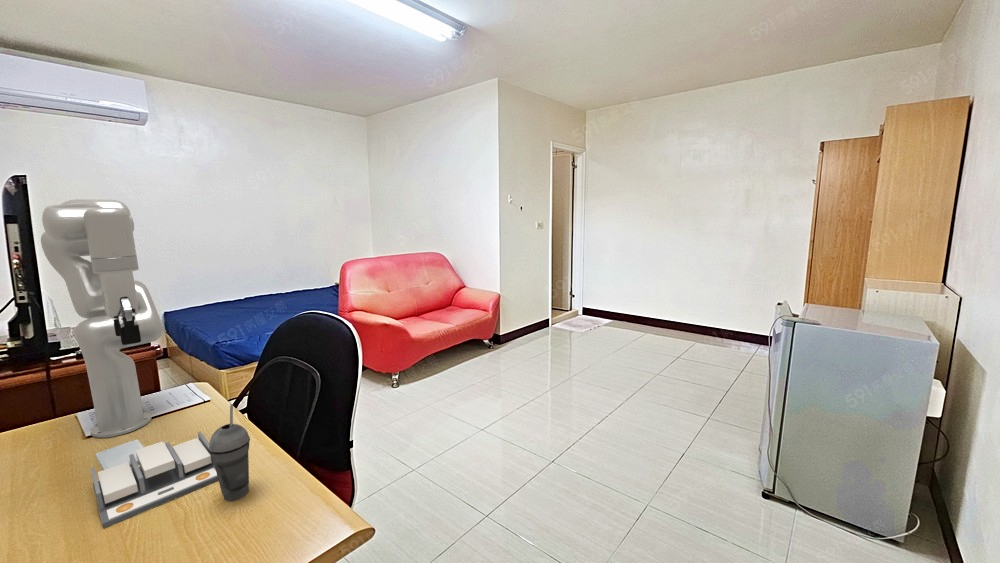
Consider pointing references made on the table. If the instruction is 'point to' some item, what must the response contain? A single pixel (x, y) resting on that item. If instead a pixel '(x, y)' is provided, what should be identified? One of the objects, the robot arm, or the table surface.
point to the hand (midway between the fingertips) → (128, 338)
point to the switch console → (154, 488)
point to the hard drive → (118, 454)
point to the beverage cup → (231, 459)
